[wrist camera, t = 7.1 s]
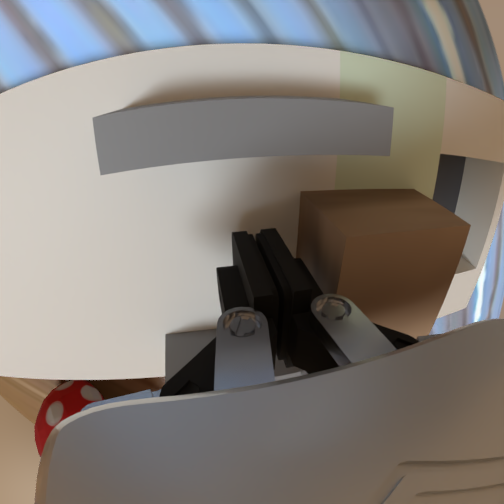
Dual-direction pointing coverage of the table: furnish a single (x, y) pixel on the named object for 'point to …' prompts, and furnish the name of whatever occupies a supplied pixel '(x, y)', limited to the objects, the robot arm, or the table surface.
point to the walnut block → (382, 252)
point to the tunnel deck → (207, 188)
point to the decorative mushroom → (63, 407)
